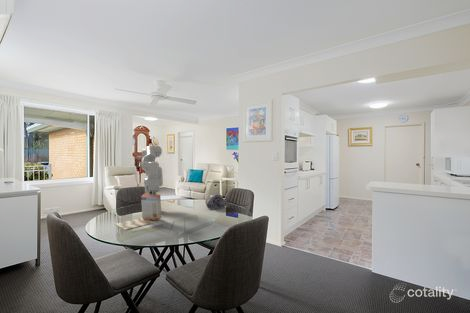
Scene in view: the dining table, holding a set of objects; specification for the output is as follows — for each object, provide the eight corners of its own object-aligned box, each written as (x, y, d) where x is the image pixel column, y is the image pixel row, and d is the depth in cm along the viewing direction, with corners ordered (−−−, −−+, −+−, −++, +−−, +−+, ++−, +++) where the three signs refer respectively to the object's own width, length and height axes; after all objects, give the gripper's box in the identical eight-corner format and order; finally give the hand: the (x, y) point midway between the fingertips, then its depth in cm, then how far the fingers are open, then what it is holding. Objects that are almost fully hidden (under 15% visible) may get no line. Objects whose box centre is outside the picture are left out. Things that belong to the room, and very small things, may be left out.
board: (142, 218, 198) (142, 217, 198) (153, 223, 184) (153, 222, 184) (114, 224, 182) (114, 223, 182) (125, 230, 168) (125, 229, 168)
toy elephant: (223, 207, 244) (221, 192, 246) (230, 207, 228) (228, 192, 230) (205, 210, 235) (203, 195, 237) (210, 210, 220) (208, 194, 222)
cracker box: (161, 217, 196) (160, 194, 191) (158, 221, 190) (157, 197, 185) (145, 216, 197) (144, 192, 192) (142, 219, 192) (140, 195, 186)
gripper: (158, 176, 202) (159, 197, 202) (142, 177, 191) (142, 199, 191) (163, 176, 197) (163, 198, 197) (146, 177, 186) (146, 200, 186)
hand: (153, 198), depth 194 cm, fingers closed
